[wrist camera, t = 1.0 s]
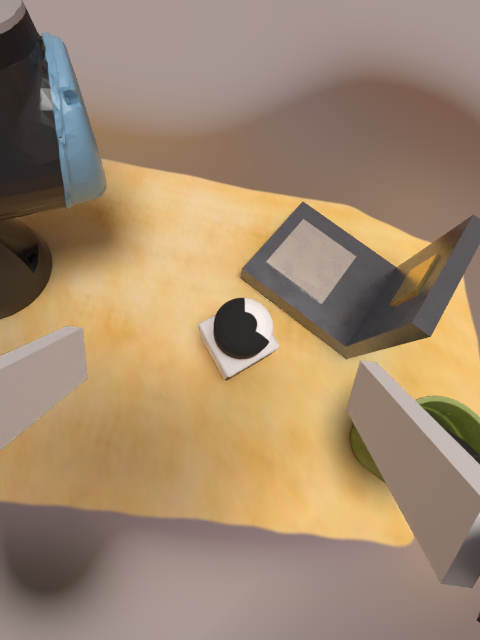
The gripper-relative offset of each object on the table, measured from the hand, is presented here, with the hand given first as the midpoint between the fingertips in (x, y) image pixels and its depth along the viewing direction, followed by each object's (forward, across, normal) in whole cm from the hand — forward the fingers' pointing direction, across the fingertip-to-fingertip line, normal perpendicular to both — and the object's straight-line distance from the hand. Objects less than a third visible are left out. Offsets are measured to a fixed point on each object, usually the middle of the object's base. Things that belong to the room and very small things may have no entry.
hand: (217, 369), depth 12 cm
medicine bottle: (+22, 0, -9) cm, 24 cm away
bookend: (+30, +12, +1) cm, 33 cm away
